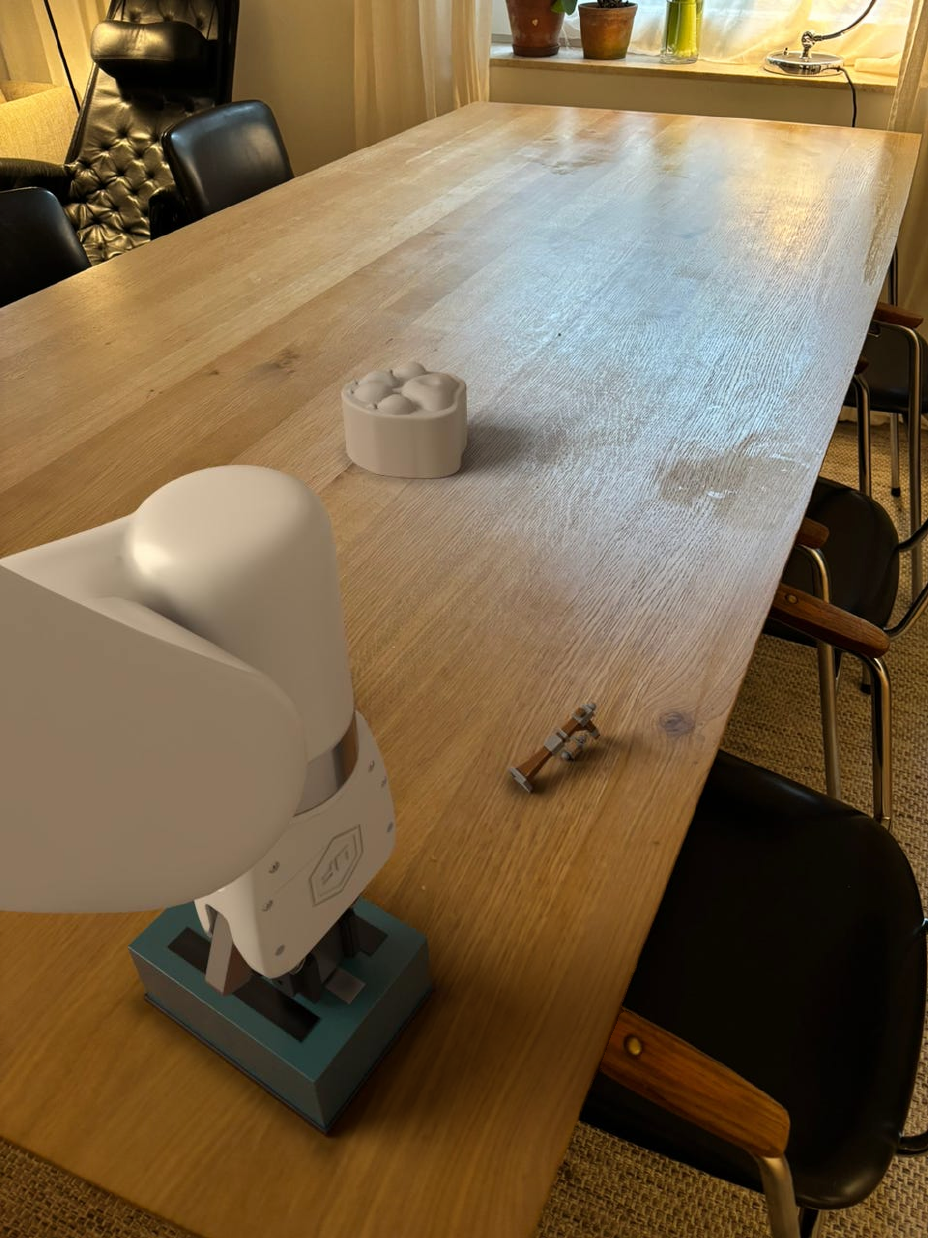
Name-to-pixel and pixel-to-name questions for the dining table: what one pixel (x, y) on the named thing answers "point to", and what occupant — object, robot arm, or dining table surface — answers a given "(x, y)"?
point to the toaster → (293, 1010)
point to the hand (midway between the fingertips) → (317, 962)
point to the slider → (328, 951)
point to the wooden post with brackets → (558, 745)
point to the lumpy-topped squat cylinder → (406, 422)
